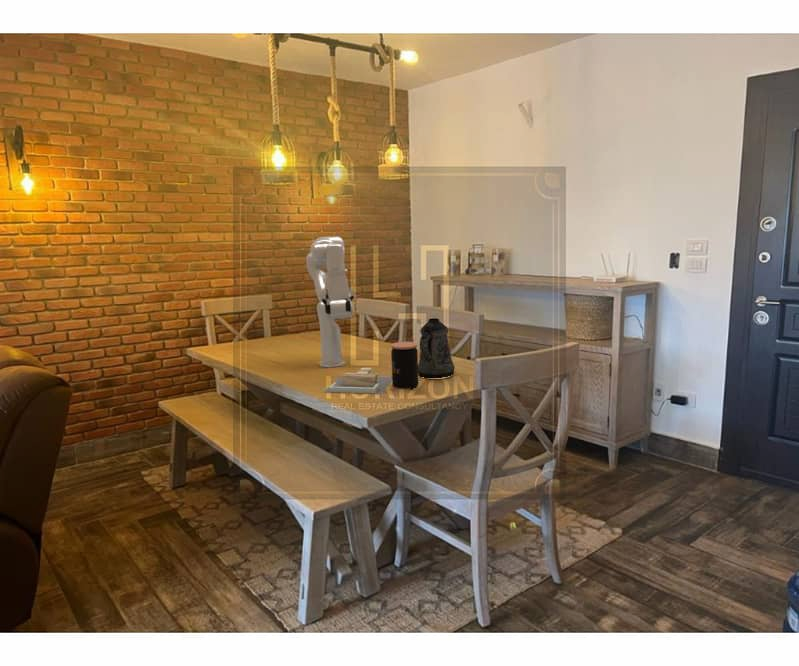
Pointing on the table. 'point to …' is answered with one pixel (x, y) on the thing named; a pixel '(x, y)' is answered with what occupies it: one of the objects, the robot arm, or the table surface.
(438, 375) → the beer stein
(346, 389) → the mat
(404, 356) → the coffee jar
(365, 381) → the t block
